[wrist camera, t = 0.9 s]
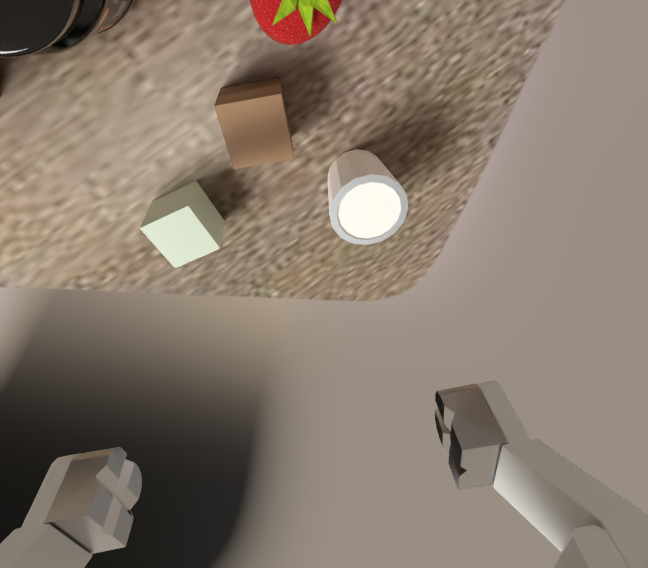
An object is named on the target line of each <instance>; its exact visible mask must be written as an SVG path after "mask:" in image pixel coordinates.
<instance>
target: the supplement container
mask: <svg viewBox="0 0 648 568" xmlns="http://www.w3.org/2000/svg"><path fill="white" fill-rule="evenodd" d="M134 1H135V0H0V57H6V58H12V57H21V56H26V55H33V56H45V55H54V54H58V53H63V52H65V51H68V50H71V49H73V48H75V47H76V46H78V45H80V44H82V43H83V42H84V41H85V40H87V39H88V38H89V37H91V36H93V35H95V34H98V33H101V32H104V31H106V30H108V29H110V28H112V27H114V26H115V25H116V24H118V23H119V22H120V21H121V20H122V19H123V18H124V17H125V16H126V15H127V13H128V12H129V11H130V9H131V7H132V5H133V3H134Z"/></svg>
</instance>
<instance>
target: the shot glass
mask: <svg viewBox="0 0 648 568" xmlns="http://www.w3.org/2000/svg"><path fill="white" fill-rule="evenodd" d="M328 197H329V215H330V219H331V223H332V227H333V229H334V230H335V231H336V232H337V234H338V235H339V236H340V237H341V238H343V239H345V240H347V241H349V242H351V243H353V244H364V245H368V244H372V243H376V242H380V241H383V240H384V239H386V238H388V237H389V236H391V235H392V234H394V233H395V232H396V231H397V229H398V228H399V227H400V226H401V225H402V223H403V222H404V220H405V217H406V214H407V211H408V202H407V195H406V193H405V192H404V190H403V188H402V187H401V185H400V184H399V183H398V181H397V180H396V179H395V178H394V176H393V175H392V174H391V173H390V172H389V170H388V169H387V168H386V167H385V166H384V164H383V163H382V162H381V161H380V160H379V158H378V157H377V156H376V155H374V154H372V153H371V152H369V151H367V150H359V149H355V150H352V151H348V152H345V153H343V154H342V155H341V156H339V157H338V158H336V159H335V161H334V162H333V164H332V166H331V167H330V169H329V174H328Z"/></svg>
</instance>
